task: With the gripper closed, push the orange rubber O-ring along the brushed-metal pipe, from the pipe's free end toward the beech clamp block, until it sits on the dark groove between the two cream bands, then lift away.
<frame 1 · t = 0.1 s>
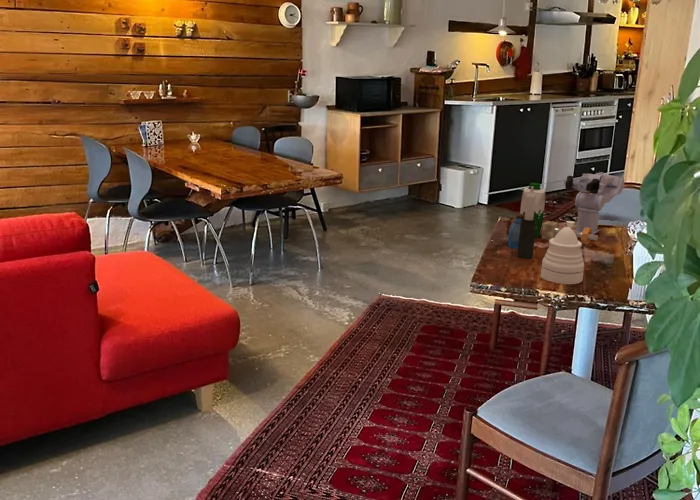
hand: (576, 186, 249), 22 cm above the table, tool horizontal, fingers open, 7 cm apart
perfume bottle: (517, 247, 248), on the table
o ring: (586, 236, 251), point 4 cm above the table, slide at 0.0 cm
honey pot: (561, 278, 215), on the table
clamp block: (549, 238, 260), on the table
milk carton: (529, 235, 264), on the table
pipe: (569, 242, 255), resting on clamp block
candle: (524, 256, 236), on the table
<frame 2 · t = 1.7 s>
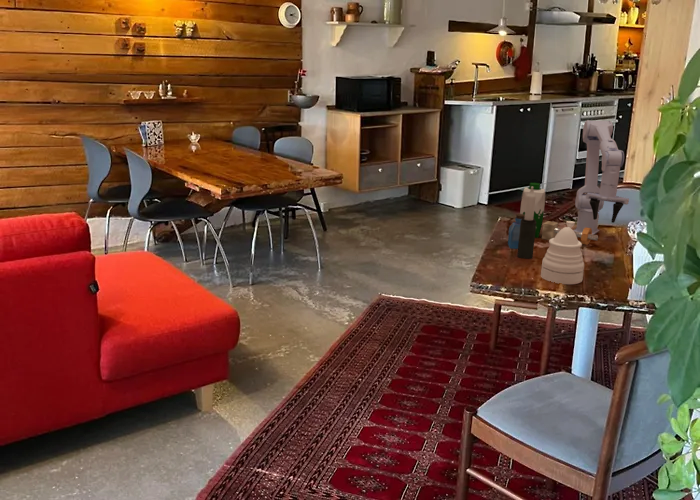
hand: (604, 220, 246), 10 cm above the table, tool pointing down, fingers open, 6 cm apart
nothing on the table moved.
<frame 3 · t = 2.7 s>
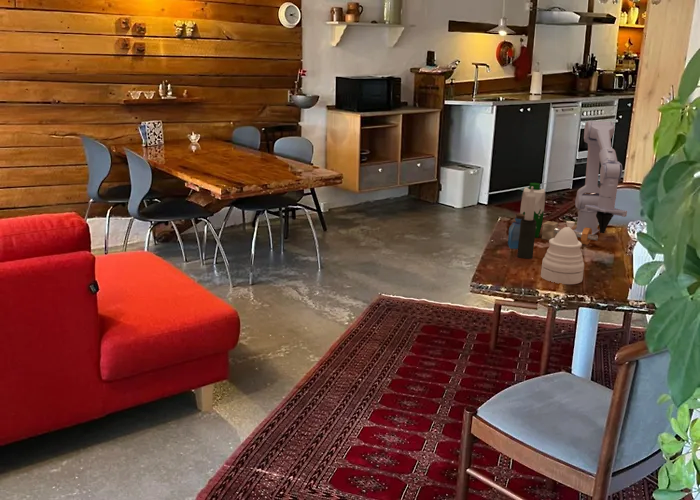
hand: (602, 232, 247), 6 cm above the table, tool pointing down, fingers closed
nothing on the table moved.
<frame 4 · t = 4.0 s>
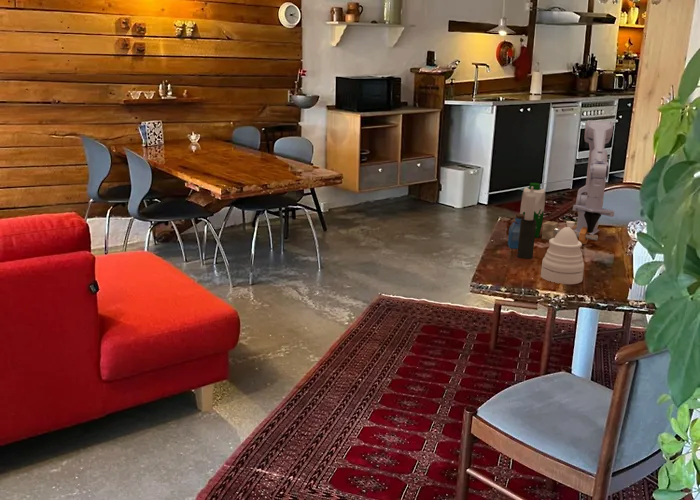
hand: (590, 232, 250), 5 cm above the table, tool pointing down, fingers closed
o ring: (584, 235, 251), point 4 cm above the table, slide at -0.8 cm, touching gripper
everything else where it was.
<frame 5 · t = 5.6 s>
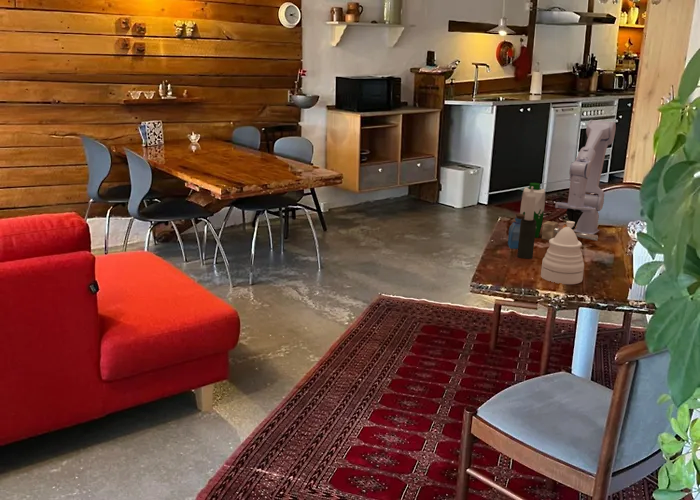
hand: (572, 229, 253), 5 cm above the table, tool pointing down, fingers closed
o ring: (566, 232, 255), point 4 cm above the table, slide at -7.5 cm, touching gripper
everything else where it was.
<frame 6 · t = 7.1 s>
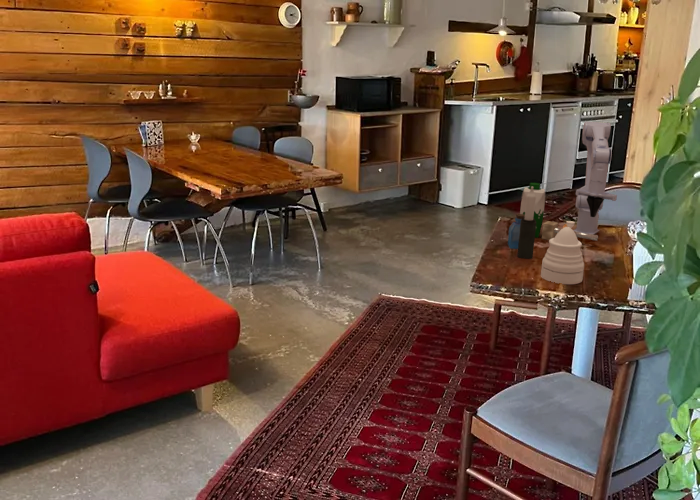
hand: (593, 216, 252), 10 cm above the table, tool pointing down, fingers closed
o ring: (566, 232, 255), point 3 cm above the table, slide at -7.5 cm
everything else where it was.
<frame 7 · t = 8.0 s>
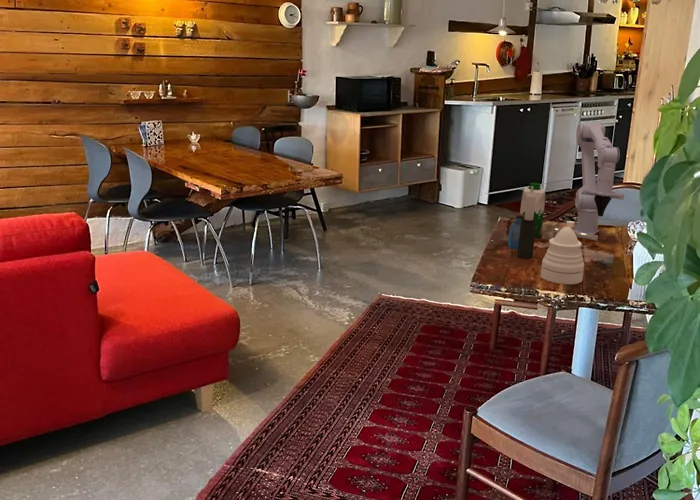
hand: (600, 215, 253), 10 cm above the table, tool pointing down, fingers closed
nothing on the table moved.
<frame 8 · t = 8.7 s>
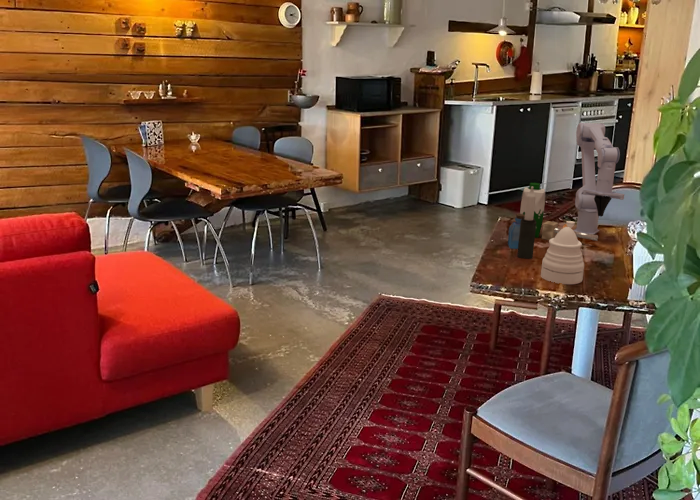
hand: (600, 215, 253), 10 cm above the table, tool pointing down, fingers closed
nothing on the table moved.
at the end: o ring slide at -7.5 cm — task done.
